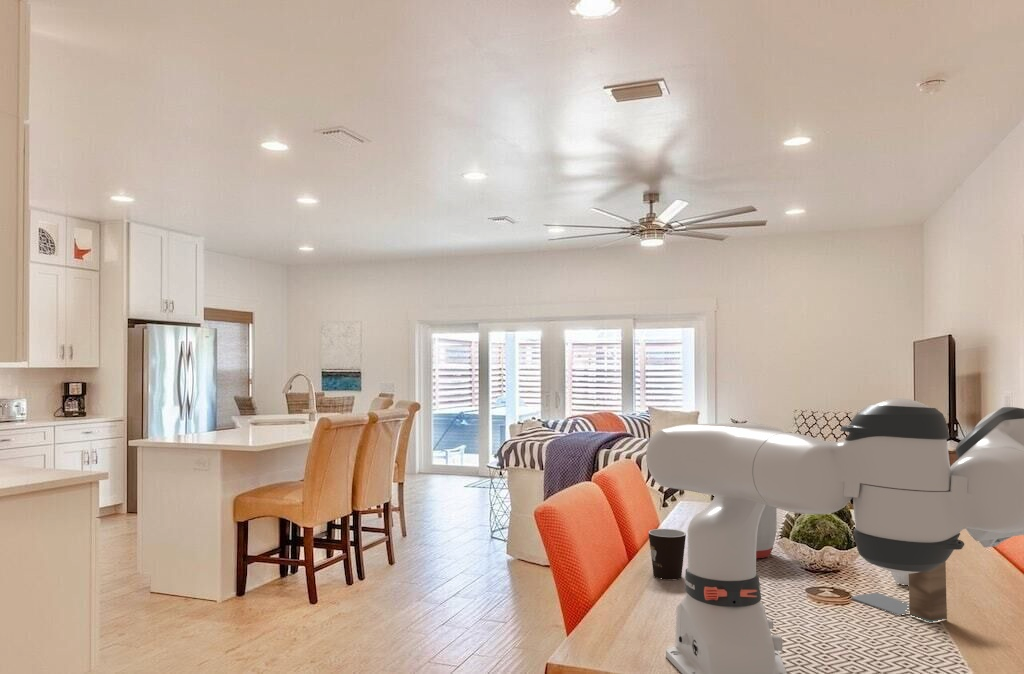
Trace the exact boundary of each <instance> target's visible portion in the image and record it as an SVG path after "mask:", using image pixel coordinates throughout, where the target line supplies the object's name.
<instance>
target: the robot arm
mask: <svg viewBox="0 0 1024 674" xmlns="http://www.w3.org/2000/svg"><path fill="white" fill-rule="evenodd" d="M840 431H841V432H845V433H848V435H847V436H846V437H845V438H844V440H843V441H829V440H825V439H819V438H816V437H813V436H809V435H807V434H806V435H804V434H800V433H797V432H796V433H795V432H790V431H789V432H788V431H784V430H783V429H781V428H778V427H775V426H771V425H765V424H761V423H756V422H754V423H753V422H746V423H744V422H742V423H739V422H738V423H737V422H736V423H733V422H732V423H686V424H685V423H684V424H679V425H673V426H669V427H666V428H661V429H658V430H657V431H655V432H654V434H653V435H652V436H651V438H650V440H649V442H648V444H647V447H646V453H645V454H646V455H645V458H646V459H645V460H646V466H647V469H648V471H649V473H650V476H651V477H652V478H653V480H654V481H655V483H657V484H658V486H660V487H664V488H668V489H673V490H674V489H675V490H682V491H688V492H693V493H698V494H702V495H703V494H704V495H711V496H714V497H713V499H712V501H711V502H710V503H709V505H708V506H707V507H706V508H704V509H703V510H701V511H700V512H698V513H697V514H696V515H694V516H693V517H692V518H691V520H690V522H689V524H688V528H687V568H686V569H685V576H684V583H685V584H684V585H685V587H684V590H685V592H686V593H685V596H684V598H683V599H682V600H681V601H680V602H679V603H678V604H677V605H676V611H675V612H676V616H675V640H674V641H675V644H674V645H673V646H671V647H668V648H666V649H665V658H666V659H667V660H669V662H670V663H671V664H672V665H674V667H675V668H676V669H677V670H678V671H679V672H680V673H681V674H788V673H787V671H786V667H785V664H784V661H783V659H782V656H781V653H780V652H781V651H783V637H782V636H781V635H779V634H772V632H771V630H773V629H774V621H773V619H768V617H767V613H766V605H764V604H763V603H762V602H761V600H762V593H761V590H762V588H761V582H760V577H759V574H758V572H757V558H756V544H757V531H758V524H759V521H760V517H761V514H762V512H763V509H764V507H765V505H768V506H771V507H774V508H776V509H779V510H782V511H786V512H789V513H790V512H791V513H796V514H803V515H828V514H829V515H830V514H832V513H836V512H838V511H841V510H842V509H843V508H844V507H846V506H847V505H848V504H849V503H850V501H851V500H852V501H853V502H852V503H853V513H854V523H855V528H854V529H853V536H854V541H855V546H856V549H857V553H858V555H859V556H860V557H861V558H862V559H864V560H865V561H866V562H867V563H869V564H872V565H874V566H877V567H879V568H881V569H883V570H885V571H887V572H890V573H891V572H895V573H902V574H911V573H918V572H927V571H931V570H933V569H934V568H936V567H938V566H939V565H941V564H942V563H944V562H946V561H948V559H949V558H950V556H951V555H952V553H953V552H954V550H958V551H959V550H963V549H964V548H963V547H964V546H965V542H964V541H963V540H961V539H959V538H960V535H961V532H962V531H963V530H965V531H967V533H968V534H969V535H970V537H972V539H973V540H974V541H977V542H979V544H980V545H981V546H982V547H983V548H991V547H997V546H999V545H1000V544H1001V543H1003V542H1004V541H1005V542H1006V540H1009V539H1011V538H1013V537H1018V536H1024V408H1022V407H1014V406H1004V407H1001V408H998V409H996V410H993V411H991V412H990V413H988V414H987V415H985V416H984V417H983V418H982V419H981V420H979V422H978V423H977V424H976V425H975V427H973V429H972V430H971V431H970V432H969V433H968V434H966V435H965V437H963V438H962V439H961V440H960V441H959V442H958V444H957V446H956V448H955V453H956V456H957V460H956V461H955V462H953V463H952V465H951V464H950V455H949V448H948V440H949V439H950V433H949V428H948V425H947V420H946V418H945V414H943V412H941V411H940V410H938V408H936V407H931V406H929V405H927V404H925V403H923V402H920V401H919V400H918V401H917V400H913V399H910V398H909V399H908V398H890V399H886V400H883V401H880V402H877V403H874V404H869V405H867V406H866V407H864V408H863V409H861V410H860V411H859V412H857V413H856V414H855V416H854V417H853V418H852V419H851V421H850V423H849V424H848V425H841V427H840Z"/></svg>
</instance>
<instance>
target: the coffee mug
mask: <svg viewBox="0 0 1024 674" xmlns="http://www.w3.org/2000/svg"><path fill="white" fill-rule="evenodd" d="M686 536H687V533H686V532H685V531H682V530H679V529H678V530H677V529H672V528H656V529H655V528H654V529H651V530H648V538H649V539H648V541H649V547H650V548H649V549H650V556H651V557H650V558H651V565H652V573H653V577H654V576H655V577H654V578H656V577H658V578H662V579H661V580H663V579H677V580H679V579H678V578H680V579H682V576H683V564H684V557H685V548H686V547H685V546H686ZM658 578H657V579H658Z"/></svg>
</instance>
